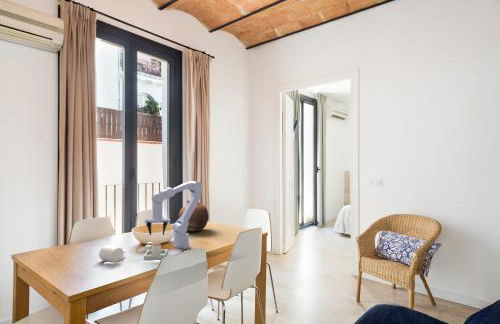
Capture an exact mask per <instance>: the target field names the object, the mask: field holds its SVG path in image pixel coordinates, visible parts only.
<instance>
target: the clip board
mask: <svg viewBox="0 0 500 324" xmlns="http://www.w3.org/2000/svg"><path fill="white" fill-rule="evenodd" d="M152 243H154V242H152V241H151V242H150V241H149V242H147V243H146V245H145V246H138V247H137V249H136V250H135V253H146V252H147V250H152ZM162 247H163V246H161V248H162Z"/></svg>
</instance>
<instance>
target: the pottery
mask: <svg viewBox="0 0 500 324" xmlns="http://www.w3.org/2000/svg"><path fill="white" fill-rule="evenodd" d="M190 200H191V199H190ZM190 200H189V199H188V200H186V203H187V204H186V205H184V206H183V207H182V208H181V209H180V211H179V213H178V215H179V216H178V217H179V218H181V216H182V214H183V212H184V211H185V209H186V207H187V205H188V203H189V201H190ZM209 217H210V216H209V211H208V209H207V207H206V206H205V204H203V203H201V202H198V204H197V206H196V207H195V209H194V211H193V213H192V215H191V217H190V219H189V220H188V227H187V231H186V232H199V231H202V230H204V228H205V227H206V226H207V224H208V222H209ZM179 218H178V219H179Z"/></svg>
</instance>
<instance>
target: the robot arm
mask: <svg viewBox="0 0 500 324" xmlns="http://www.w3.org/2000/svg"><path fill="white" fill-rule="evenodd" d="M186 190H189V192H190V193H191V197H190V201H189V200H188V201H189V203H188V202H187V204H188V205H187V204H186V205H187V207H186V209H185V211H184V212H183V214H182V216H181V218H178V219H177V220H176V221H175V222H174V223H173V224H172V231H174V232H173V248H177V249H179V248H180V249H182V250H185V249H186V250H187V249H189V245H190V242H189V239H190V238H189V235H190V234H189V233H188V231H187V227H188V220H189V219H190V217H191V215H192V213H193V211H194V209H195V207H196V206H197V204H198V202H199V201H200V200H201V199H202V198H201V197H202V193H203V192H202V191H203V185H202V183H201V182H200V181H194V180H189V181H187V182H184V183H182V184H180V185H178V186H175V187H173V188H172V187H166V189H164V190H159V191H158V192H155V193H153V194H152V196H151V200H152V218H147V219H144V224H146V227H147V230H148V233H149V234H148V235H149V236H151V235H152V224H155V223H156V224H157V223H159V224H161V223H162V236H164V235H165V231H166V229H167V226H168V224H170V223H171V219H170V218H163V211H164V209H163V208H164V207H163V205H164V204H163V203H164V201H165V200H167V199H169V198H172V197H175V194H177V193H180V192H183V191H186ZM199 203H200V202H199Z"/></svg>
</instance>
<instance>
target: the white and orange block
mask: <svg viewBox="0 0 500 324" xmlns="http://www.w3.org/2000/svg"><path fill="white" fill-rule="evenodd" d="M161 244H162V243H160V242H153V243H152V253H151V255H162V252H161V249H162V247H161Z"/></svg>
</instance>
